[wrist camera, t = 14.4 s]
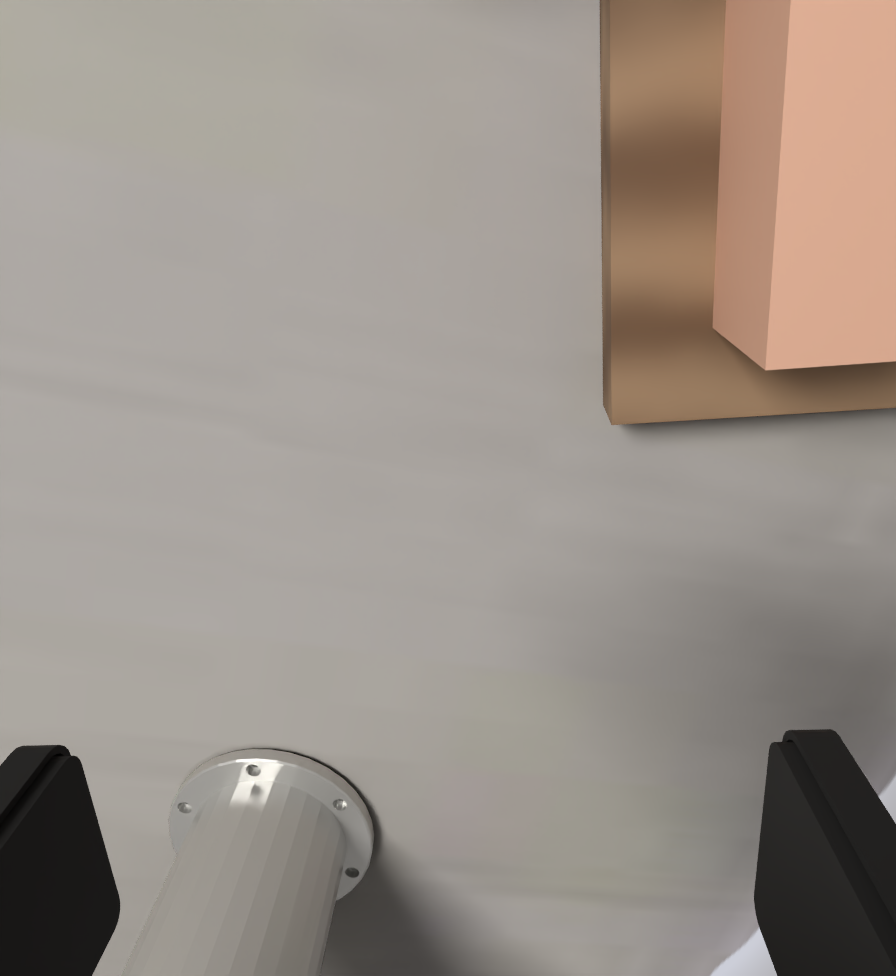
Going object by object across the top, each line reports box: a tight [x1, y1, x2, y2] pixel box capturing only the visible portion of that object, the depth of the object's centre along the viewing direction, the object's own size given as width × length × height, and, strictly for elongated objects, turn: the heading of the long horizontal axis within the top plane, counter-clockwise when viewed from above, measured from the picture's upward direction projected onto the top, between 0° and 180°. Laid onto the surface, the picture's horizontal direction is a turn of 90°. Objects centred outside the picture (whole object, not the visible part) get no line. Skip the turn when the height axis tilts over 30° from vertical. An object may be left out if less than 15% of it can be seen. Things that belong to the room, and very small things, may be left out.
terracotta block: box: [713, 0, 896, 370], centre depth 27 cm, size 4×12×7 cm, turn 5°
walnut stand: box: [600, 0, 896, 425], centre depth 31 cm, size 20×13×3 cm, turn 5°
